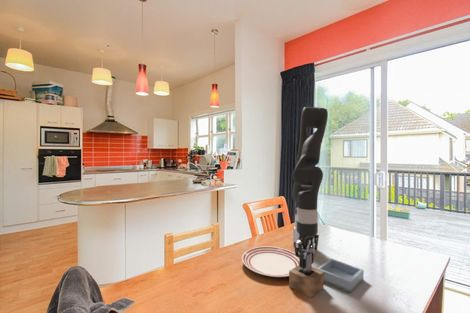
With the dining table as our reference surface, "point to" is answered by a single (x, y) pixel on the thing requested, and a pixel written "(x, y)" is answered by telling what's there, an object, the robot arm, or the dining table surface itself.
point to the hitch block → (306, 281)
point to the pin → (308, 262)
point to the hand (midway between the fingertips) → (306, 265)
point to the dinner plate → (270, 261)
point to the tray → (341, 275)
